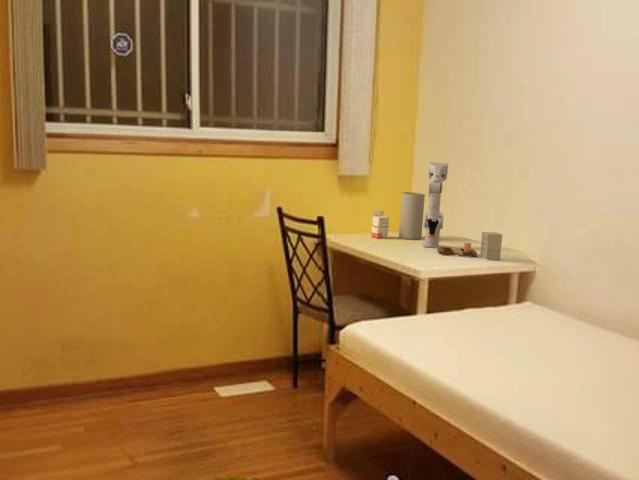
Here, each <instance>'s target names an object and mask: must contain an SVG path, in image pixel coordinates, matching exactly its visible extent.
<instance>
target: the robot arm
mask: <svg viewBox="0 0 639 480" xmlns="http://www.w3.org/2000/svg"><path fill="white" fill-rule="evenodd" d="M448 171H449V163H448V162H432V161H430V162H429V163H428V179H429V180H430V182H429V184H428V189H427V190H428V201H427V202H428V204H427V211H426V212H425V214H424V216H423V228H424V229H425V234H424V235H425V236H424V242H423V243H422V245H423V247H424V248H436V249H437V248H438V247H441V246H440V232H441V230H443V227H444V215H443V213H442V212H441V210H440V208H441V196H442V194H443V193H442V192H443V182H445V181H447V178H448V174H449V173H448ZM428 232H429V233H430V235H434V234H435V238H429V237H428Z"/></svg>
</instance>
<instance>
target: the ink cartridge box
mask: <svg viewBox="0 0 639 480" xmlns="http://www.w3.org/2000/svg"><path fill="white" fill-rule="evenodd" d="M384 213H385V211H384V210H374V211H373V214H372V223H371V236H370V237H371V238H373V239H388V238H389V237H388V236H389V223H390V217H389V216H385V215H384Z"/></svg>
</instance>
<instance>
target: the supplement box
mask: <svg viewBox="0 0 639 480" xmlns="http://www.w3.org/2000/svg"><path fill="white" fill-rule="evenodd" d="M480 242H481V243H480V255H479V257H480V258H481V257H482V258H481V259H483V258H485V259H500V260H501V252H502V244H503V243H502V242H503V234H502V233H500V232H497V231H482V234H481V241H480ZM485 259H484V260H485Z"/></svg>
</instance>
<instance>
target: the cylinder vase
mask: <svg viewBox="0 0 639 480" xmlns="http://www.w3.org/2000/svg"><path fill="white" fill-rule="evenodd" d="M425 197H426V194H425V193H421V192H411V191H410V192H408V191H407V192H406V191H405V192H404V191H403V192H402V193H401V204H400V205H401V206H400V216H399V229H398V230H399V232H398V237H399V238H400V239H404V240H411V241H412V240H413V241H415V240H420V239H422V236H423V226H424V213H425V212H424V210H425Z"/></svg>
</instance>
